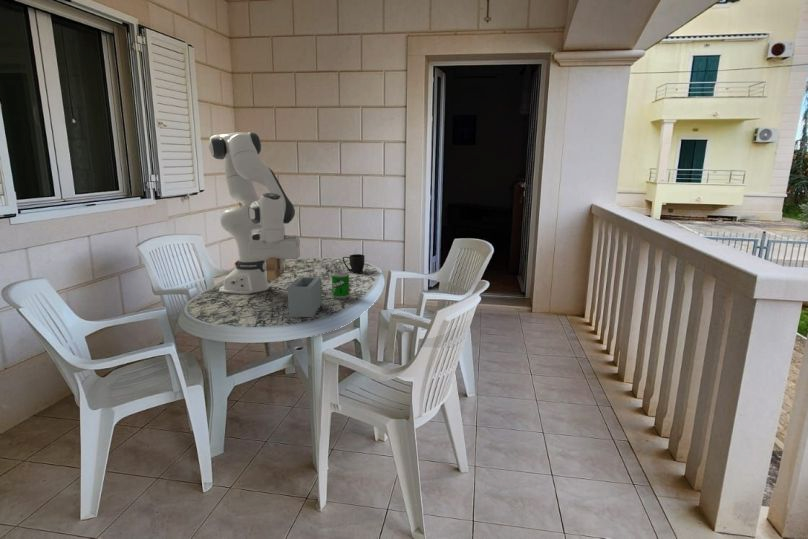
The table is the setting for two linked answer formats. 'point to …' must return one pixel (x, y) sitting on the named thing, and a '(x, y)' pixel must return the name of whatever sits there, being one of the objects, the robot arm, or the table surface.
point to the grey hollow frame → (304, 296)
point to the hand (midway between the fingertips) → (275, 268)
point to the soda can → (340, 284)
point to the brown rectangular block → (273, 268)
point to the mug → (356, 263)
